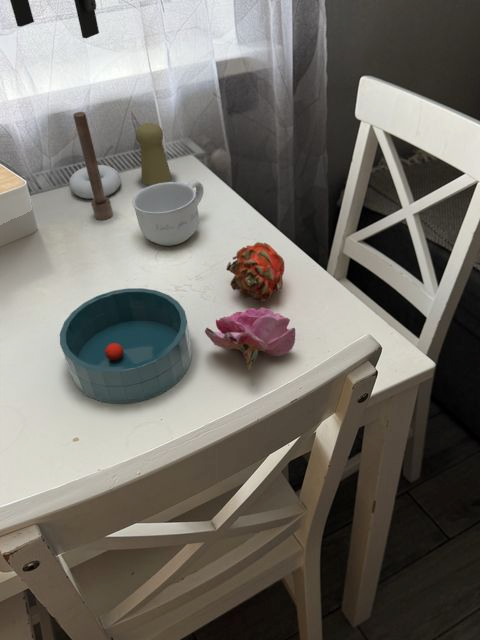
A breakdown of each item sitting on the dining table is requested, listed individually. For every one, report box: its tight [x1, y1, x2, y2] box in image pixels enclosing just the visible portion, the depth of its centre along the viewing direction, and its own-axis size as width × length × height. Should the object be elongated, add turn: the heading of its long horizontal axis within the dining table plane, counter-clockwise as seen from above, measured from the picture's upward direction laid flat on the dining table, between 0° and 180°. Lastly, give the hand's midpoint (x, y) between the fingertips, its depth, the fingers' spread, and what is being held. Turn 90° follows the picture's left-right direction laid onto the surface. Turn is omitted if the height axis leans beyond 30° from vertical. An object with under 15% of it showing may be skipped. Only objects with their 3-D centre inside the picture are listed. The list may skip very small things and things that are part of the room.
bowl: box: [59, 287, 193, 405], centre depth 81 cm, size 17×17×6 cm
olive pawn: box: [135, 122, 173, 187], centre depth 117 cm, size 6×6×11 cm
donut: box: [68, 164, 122, 200], centre depth 117 cm, size 10×4×10 cm
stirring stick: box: [72, 111, 114, 221], centre depth 105 cm, size 3×3×19 cm
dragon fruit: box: [226, 241, 285, 302], centre depth 91 cm, size 8×8×12 cm
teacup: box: [131, 179, 204, 247], centre depth 103 cm, size 14×11×8 cm
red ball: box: [105, 343, 123, 361], centre depth 81 cm, size 2×2×2 cm
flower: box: [204, 307, 296, 386], centre depth 80 cm, size 11×10×10 cm
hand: (57, 30), depth 89 cm, fingers open, 13 cm apart
